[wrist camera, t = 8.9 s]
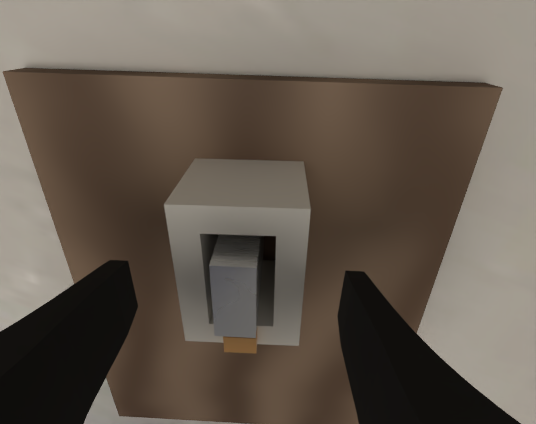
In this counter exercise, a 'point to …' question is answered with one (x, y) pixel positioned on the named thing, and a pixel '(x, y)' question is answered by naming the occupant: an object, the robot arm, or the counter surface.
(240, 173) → the white frame
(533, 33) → the counter surface
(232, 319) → the grey wood-grain block
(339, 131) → the mounting plate
